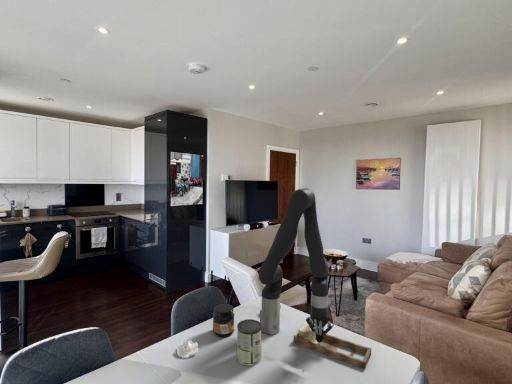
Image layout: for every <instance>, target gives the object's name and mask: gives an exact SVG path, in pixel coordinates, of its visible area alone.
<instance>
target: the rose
mask: <svg viewBox="0 0 512 384" xmlns="http://www.w3.org/2000/svg"><path fill="white" fill-rule="evenodd" d="M198 347H199V345H198V342H197V341H195V342H193V341H192V340H190V339H189V340H186V341H184V342H182V343H180V344H179V345H178V346H177V349H176V354H177V356H178V357H179V358H180V357H183V358H182V359H184V358H186V359H188V358H190V356H191V357H194V356H196V354H197V353H198V351H199V348H198ZM193 355H194V356H193Z"/></svg>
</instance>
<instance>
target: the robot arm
mask: <svg viewBox="0 0 512 384" xmlns="http://www.w3.org/2000/svg"><path fill="white" fill-rule="evenodd" d="M316 203H317V201H316V196H315V193H314V191H312V189H310V188H309V187H308V188H307V187H305V188H299V189H296V190H295V191H292V193H291V195H290V198H289V200H288V204H287V206H286V210H285V213H284V216H283V218H282V220H281V223H280V225H279V227H278V230H277V232H276V235H275V236H274V239H273V241H272V244H271V246H270V249H269V251H268V254H267V255H266V258H265V259H264V261H263V262H262V264H261V266H260V268H259V270H258V279H259V282H260V283H261V284H262V285H264V287H263V288H262V290H261V309H260V310H259V322H260V323H261V324H262V328H261V333H264V334H265V335H275V334H278V333H280V329H281V328H280V326H281V325H280V324H281V323H280V322H281V308H280V305H281V293H282V289H283V269H282V267H281V266H280V263H281V262H282V261H283V259H284V258H285V257H286V256H287V255H288V254H289V253H290V251H291V250H292V248H293V246H294V244H295V241H296V239H297V237H298V232H299V231H298V230H299V223H300V221H301V218H302V216H303V219H304V229H303V230H304V240H305V245H306V250H307V253H308V260H309V268H310V270H311V274H312V281H311V297H310V307H311V308H310V313H311V314H310V316H308V317H307V318H305V322H306V323H307V326H309V327H310V328H311V330H312V331H313V332H315V333H316V340H317V342H319V343H321V342H322V341H323V335H326V334H328V333H329V332H330V331H331V330H332V329H333V328H334V326H335V324H334V323H332V322H330V318H329V295H328V291H329V289H328V286H329V285H328V276H329V263H328V261H327V260H326V259H325V255H324V245H323V241H322V236H321V233H320V228H319V222H318V214H317V213H318V212H317V206H316ZM326 326H327V328H325V327H326ZM324 329H325V330H324Z"/></svg>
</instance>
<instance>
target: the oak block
mask: <svg viewBox="0 0 512 384" xmlns="http://www.w3.org/2000/svg"><path fill="white" fill-rule="evenodd" d="M298 330H299V338H301V339H304V340H307V341H310V342H312V343H313V342H314V341H315V339H316V333H315V332H313V331H312V330H311V328H310V327H309V325H308V324H303V325H302V326H301V327H300V328H299V329H298Z"/></svg>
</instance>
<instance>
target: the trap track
mask: <svg viewBox="0 0 512 384" xmlns="http://www.w3.org/2000/svg"><path fill="white" fill-rule="evenodd" d="M292 338H293V344H296V345H299V346H302V347H303V348H307V349H309V350H312V351H315V352H318V353H320V354H323V355H326V356H329V357H331V358H334V359H336V360H338V361H342V362H344V363H348V364H350V365H353V366H355V367H358V368H361V369H363V370H366V368H367V365H368V363H369V360H370V358H371V356H372V348H371V347H367V346H364V345H361V344H358V343H355V342H353V341H349V340H347V339H343V338H340V337H337V336H334V335H331V334H328V333H327V334H326V335H323V341H322V342H321V343H319V342H317V340H316V339H315V341H314V342H313V343H312V342H310V341H307V340H304V339H301V338H299V329H297V331H296V332H295V333H294V334H293V337H292ZM340 346H341V347H344V348H347V349H350V350H351V351H350V353H349V355H348V354H346V353H343V352H340V351H338V349H339V348H340ZM356 352H359V353H362V354H363V355H364V357H363V359H360V358H358V357H357V358H356V357H355V356H354V355H355V354H356Z"/></svg>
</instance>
